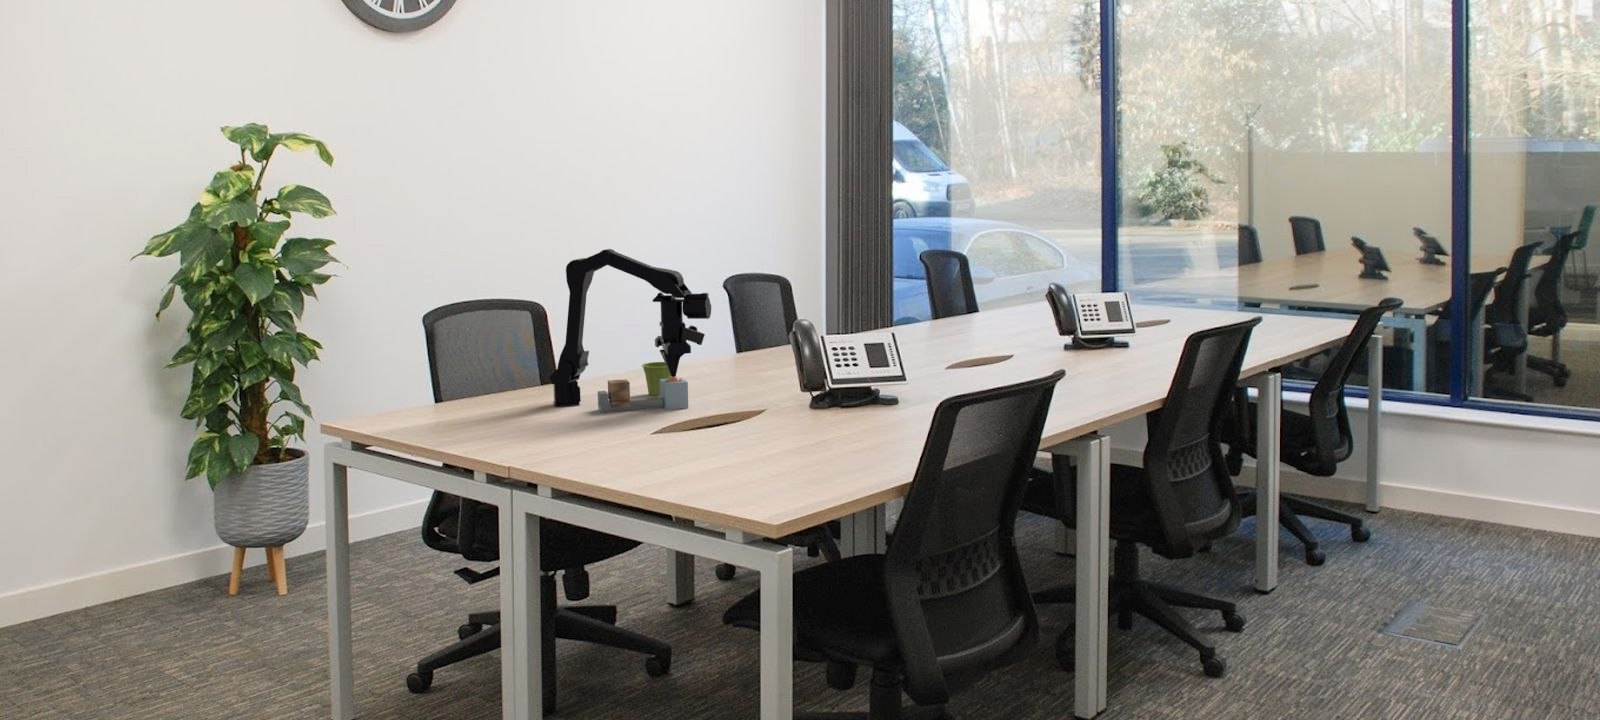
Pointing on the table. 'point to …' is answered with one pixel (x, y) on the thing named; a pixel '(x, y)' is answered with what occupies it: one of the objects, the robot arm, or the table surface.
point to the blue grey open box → (674, 394)
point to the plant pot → (655, 376)
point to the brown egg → (673, 379)
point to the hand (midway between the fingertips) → (673, 376)
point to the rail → (635, 404)
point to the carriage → (619, 393)
